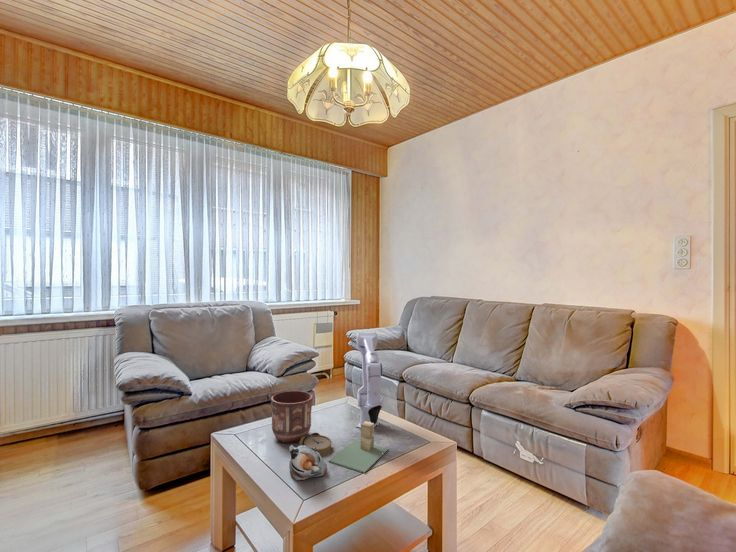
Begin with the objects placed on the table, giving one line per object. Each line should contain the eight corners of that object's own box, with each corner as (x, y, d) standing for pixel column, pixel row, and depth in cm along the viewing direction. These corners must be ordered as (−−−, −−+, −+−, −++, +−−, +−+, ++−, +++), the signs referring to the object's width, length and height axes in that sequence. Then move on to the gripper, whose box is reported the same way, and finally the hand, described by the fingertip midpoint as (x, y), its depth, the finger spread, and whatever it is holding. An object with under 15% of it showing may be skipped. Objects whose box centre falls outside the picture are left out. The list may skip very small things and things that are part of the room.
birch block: (365, 444, 151) (365, 421, 151) (373, 447, 149) (373, 423, 149) (360, 448, 148) (360, 424, 148) (368, 451, 146) (369, 426, 146)
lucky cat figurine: (334, 470, 132) (333, 446, 126) (311, 497, 124) (308, 473, 117) (304, 448, 140) (302, 424, 133) (281, 472, 132) (277, 448, 125)
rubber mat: (355, 441, 156) (355, 439, 156) (388, 450, 148) (388, 448, 148) (328, 461, 139) (328, 460, 139) (364, 473, 131) (364, 471, 131)
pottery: (289, 451, 147) (289, 406, 147) (262, 438, 157) (263, 397, 157) (320, 436, 161) (320, 395, 161) (293, 425, 171) (294, 387, 171)
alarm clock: (316, 453, 140) (293, 434, 150) (314, 464, 140) (292, 445, 150) (337, 443, 148) (315, 426, 158) (336, 454, 149) (313, 436, 159)
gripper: (374, 397, 145) (373, 431, 145) (389, 388, 158) (389, 419, 158) (359, 394, 148) (358, 427, 148) (375, 385, 161) (375, 415, 161)
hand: (373, 423), depth 153 cm, fingers closed
